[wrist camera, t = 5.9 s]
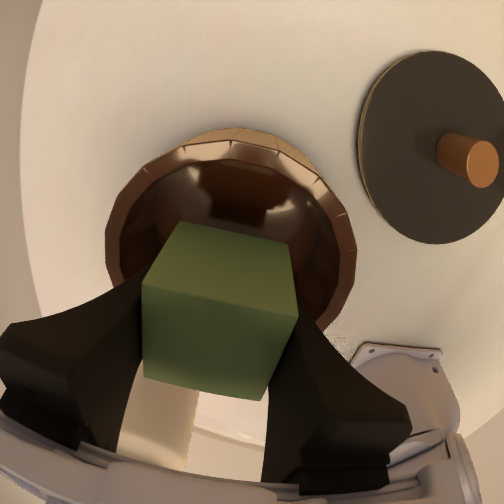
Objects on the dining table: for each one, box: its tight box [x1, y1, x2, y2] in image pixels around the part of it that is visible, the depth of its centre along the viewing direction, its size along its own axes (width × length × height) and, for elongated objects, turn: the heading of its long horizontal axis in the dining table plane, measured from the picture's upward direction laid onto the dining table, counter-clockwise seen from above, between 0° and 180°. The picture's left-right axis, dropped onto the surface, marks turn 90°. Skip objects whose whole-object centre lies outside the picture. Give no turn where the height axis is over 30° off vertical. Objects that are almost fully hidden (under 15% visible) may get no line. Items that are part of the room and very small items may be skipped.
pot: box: [105, 128, 357, 332], centre depth 16 cm, size 12×12×6 cm
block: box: [141, 221, 299, 401], centre depth 11 cm, size 4×4×4 cm
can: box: [116, 360, 200, 471], centre depth 18 cm, size 6×6×12 cm
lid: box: [358, 51, 504, 244], centre depth 13 cm, size 13×13×4 cm
